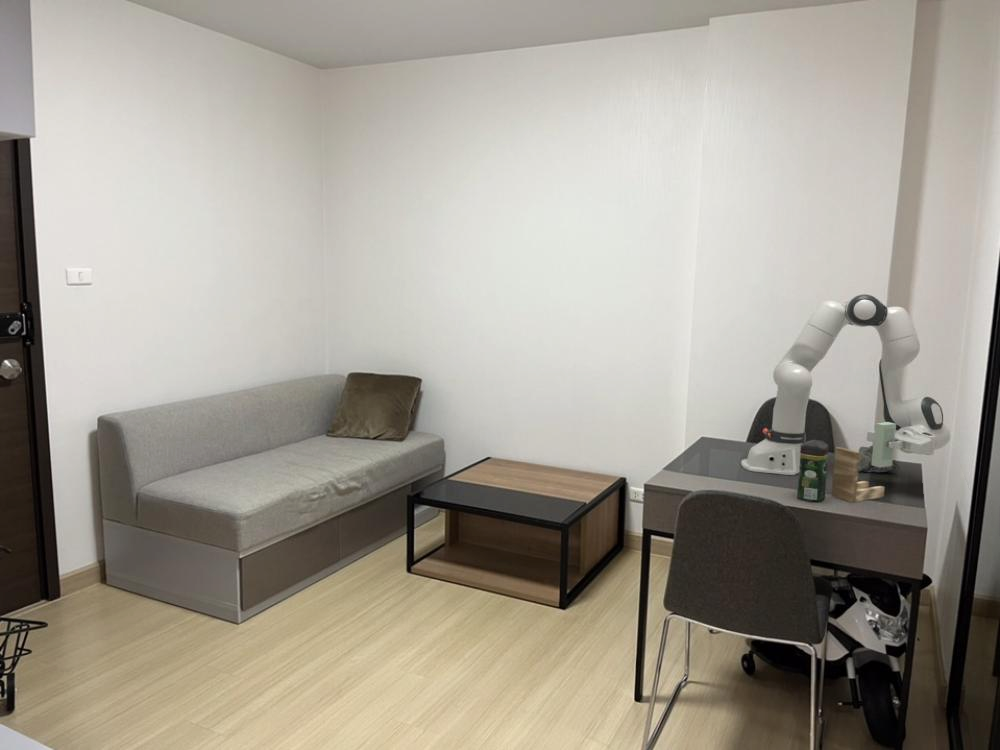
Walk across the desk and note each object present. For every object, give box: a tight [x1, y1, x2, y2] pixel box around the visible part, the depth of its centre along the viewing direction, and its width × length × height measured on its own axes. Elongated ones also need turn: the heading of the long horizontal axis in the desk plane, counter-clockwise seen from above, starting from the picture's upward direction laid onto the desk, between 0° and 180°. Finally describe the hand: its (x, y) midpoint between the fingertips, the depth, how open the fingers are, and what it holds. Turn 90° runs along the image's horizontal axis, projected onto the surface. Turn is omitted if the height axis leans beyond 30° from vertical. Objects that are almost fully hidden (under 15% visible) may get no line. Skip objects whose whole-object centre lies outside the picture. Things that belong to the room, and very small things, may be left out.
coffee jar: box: [796, 439, 829, 502], centre depth 242 cm, size 10×8×19 cm
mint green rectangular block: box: [871, 421, 897, 467], centre depth 248 cm, size 6×3×14 cm, turn 116°
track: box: [831, 446, 886, 503], centre depth 245 cm, size 15×8×16 cm, turn 115°
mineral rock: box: [858, 445, 900, 473], centre depth 274 cm, size 13×11×10 cm
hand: (881, 443), depth 248 cm, fingers closed on mint green rectangular block, 3 cm apart
